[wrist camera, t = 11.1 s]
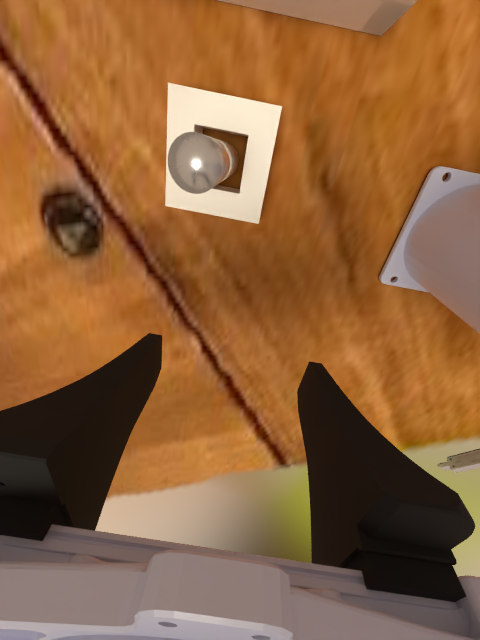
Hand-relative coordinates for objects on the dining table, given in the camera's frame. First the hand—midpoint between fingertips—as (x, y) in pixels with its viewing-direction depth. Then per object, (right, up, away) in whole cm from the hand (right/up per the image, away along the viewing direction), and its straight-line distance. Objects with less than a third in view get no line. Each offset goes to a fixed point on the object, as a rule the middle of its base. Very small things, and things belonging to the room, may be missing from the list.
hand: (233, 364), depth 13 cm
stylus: (-1, +13, +5) cm, 13 cm away
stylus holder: (-1, +13, +5) cm, 13 cm away
